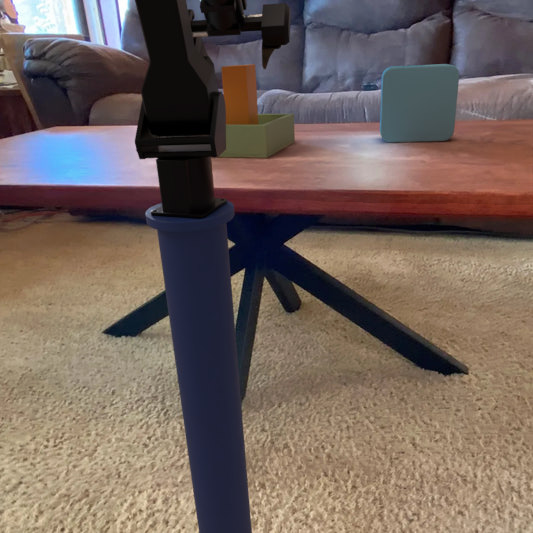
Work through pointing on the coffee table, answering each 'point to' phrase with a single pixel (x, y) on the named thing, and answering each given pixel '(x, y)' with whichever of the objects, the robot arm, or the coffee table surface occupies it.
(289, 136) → the open box
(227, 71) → the block
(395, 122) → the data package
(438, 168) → the coffee table surface
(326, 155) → the coffee table surface
